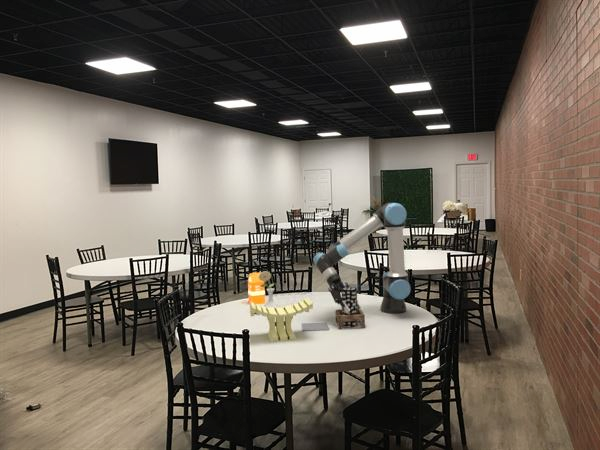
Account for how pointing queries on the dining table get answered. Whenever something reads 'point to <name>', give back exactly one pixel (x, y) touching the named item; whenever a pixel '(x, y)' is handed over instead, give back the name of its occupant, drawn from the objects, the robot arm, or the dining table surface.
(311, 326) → the mat
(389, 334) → the dining table surface
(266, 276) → the flower in vase
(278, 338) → the slatted curved stool
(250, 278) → the orange juice
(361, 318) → the square frame stand
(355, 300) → the spotted tube
